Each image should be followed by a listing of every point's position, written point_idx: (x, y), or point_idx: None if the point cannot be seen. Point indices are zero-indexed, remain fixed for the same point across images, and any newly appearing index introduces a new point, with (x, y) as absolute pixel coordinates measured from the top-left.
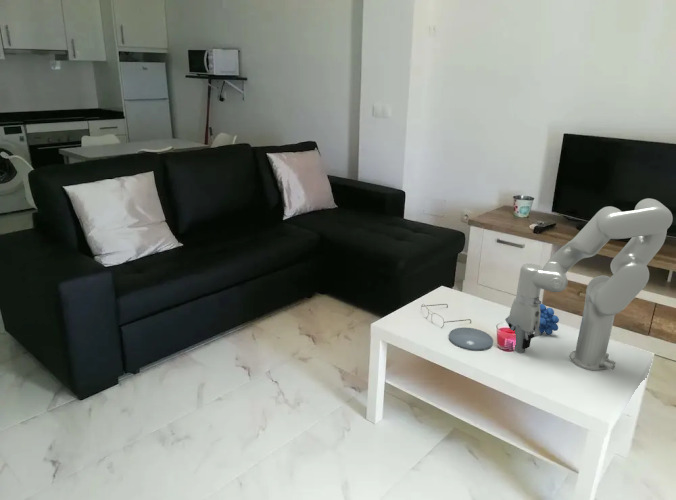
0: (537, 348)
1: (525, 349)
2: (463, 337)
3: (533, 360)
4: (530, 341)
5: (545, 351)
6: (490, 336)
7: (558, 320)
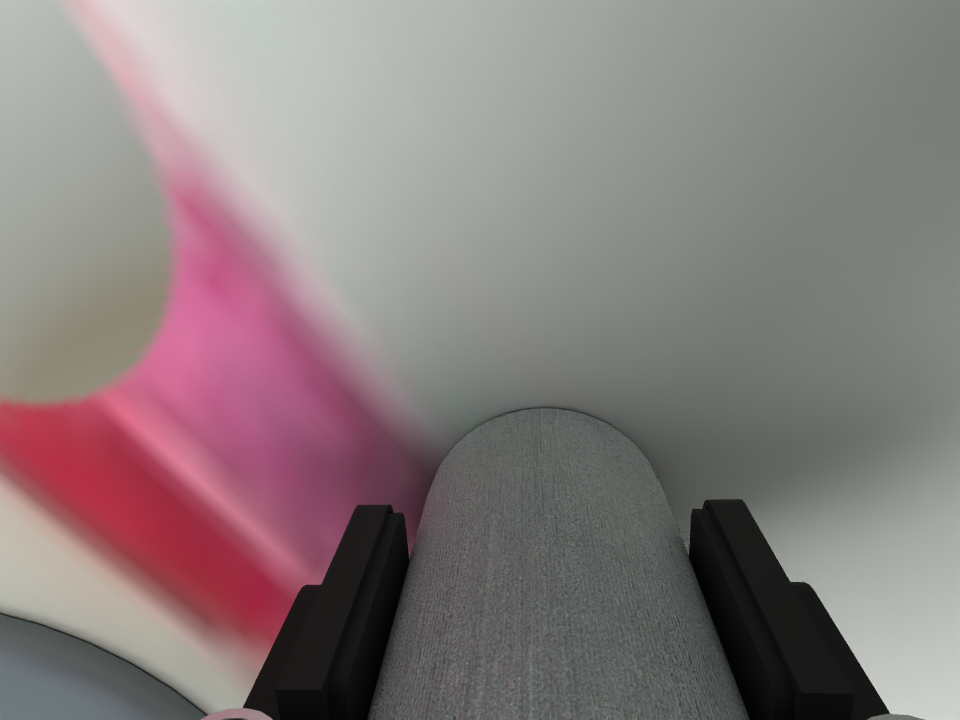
0: (711, 109)
1: (658, 481)
2: None
3: (942, 578)
4: (867, 681)
5: (912, 49)
6: (12, 680)
7: None
